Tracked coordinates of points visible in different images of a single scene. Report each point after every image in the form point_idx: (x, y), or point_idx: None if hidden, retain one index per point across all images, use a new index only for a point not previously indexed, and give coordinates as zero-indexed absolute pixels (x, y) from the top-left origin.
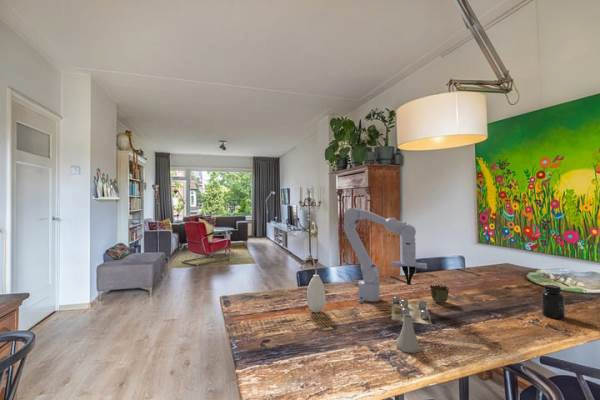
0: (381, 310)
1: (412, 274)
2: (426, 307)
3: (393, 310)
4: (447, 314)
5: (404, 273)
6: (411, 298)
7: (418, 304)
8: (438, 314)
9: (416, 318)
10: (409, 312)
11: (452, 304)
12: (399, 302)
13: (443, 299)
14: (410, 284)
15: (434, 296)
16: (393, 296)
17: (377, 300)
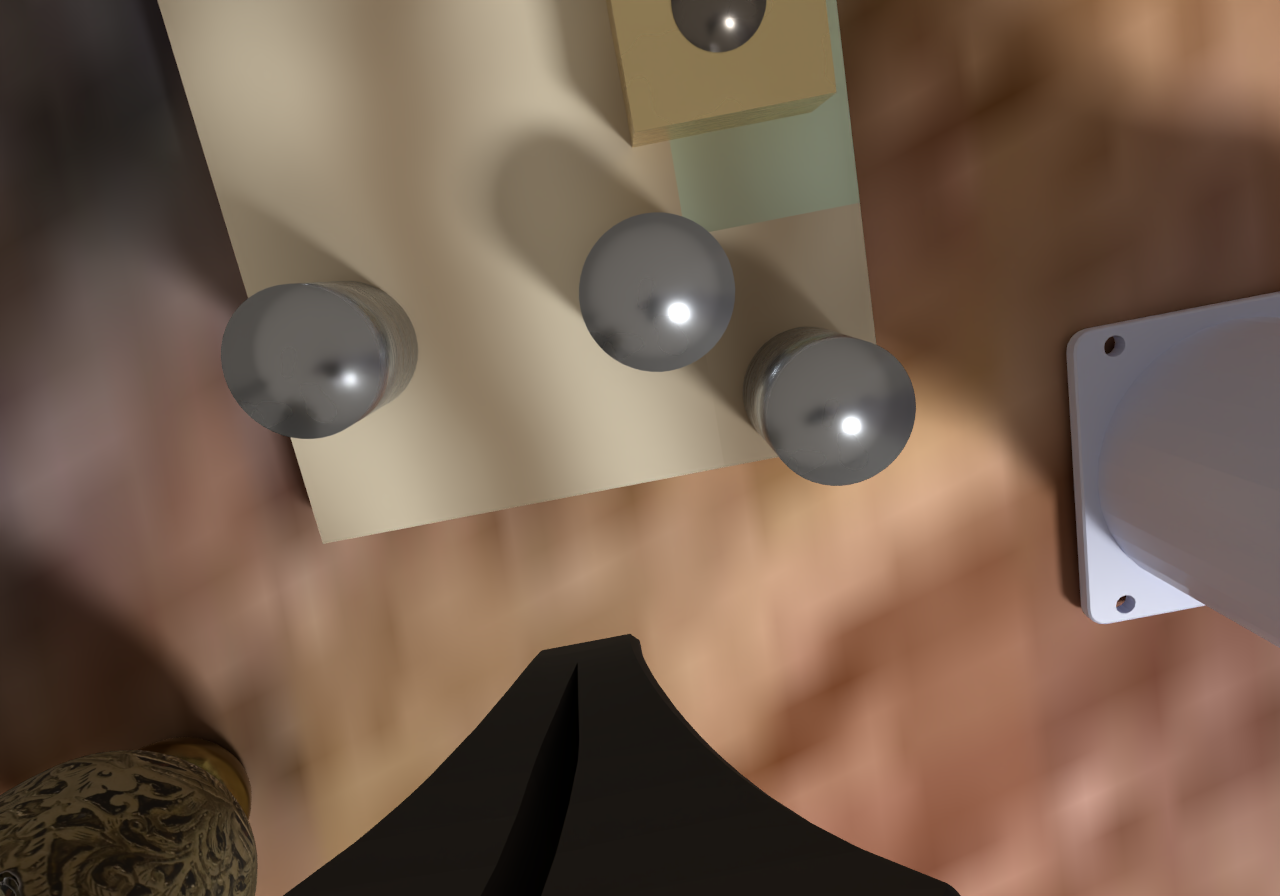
0: (1009, 81)
1: (329, 876)
2: (307, 470)
3: None
4: (5, 436)
5: (789, 811)
6: None
7: (390, 335)
8: (125, 367)
9: None
10: (525, 57)
11: None
12: (754, 376)
13: (21, 783)
14: (536, 657)
15: (158, 799)
16: (901, 430)
17: (1145, 397)
